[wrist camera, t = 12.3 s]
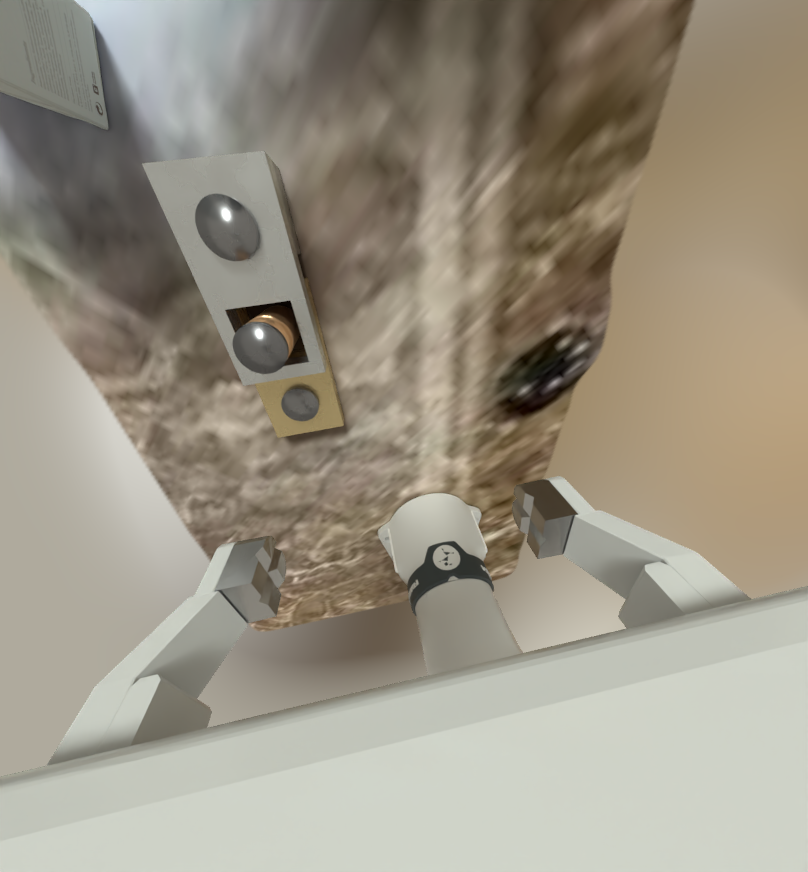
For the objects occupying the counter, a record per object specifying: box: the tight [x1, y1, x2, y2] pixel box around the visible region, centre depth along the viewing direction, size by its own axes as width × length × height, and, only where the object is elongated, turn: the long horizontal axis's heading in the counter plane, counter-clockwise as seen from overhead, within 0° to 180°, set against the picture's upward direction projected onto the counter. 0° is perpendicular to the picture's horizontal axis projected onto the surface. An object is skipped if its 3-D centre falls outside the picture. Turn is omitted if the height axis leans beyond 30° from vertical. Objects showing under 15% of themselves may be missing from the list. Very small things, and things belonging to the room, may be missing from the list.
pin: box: [232, 305, 301, 374], centre depth 26 cm, size 4×4×9 cm
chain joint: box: [141, 151, 344, 438], centre depth 28 cm, size 24×8×6 cm, turn 7°
